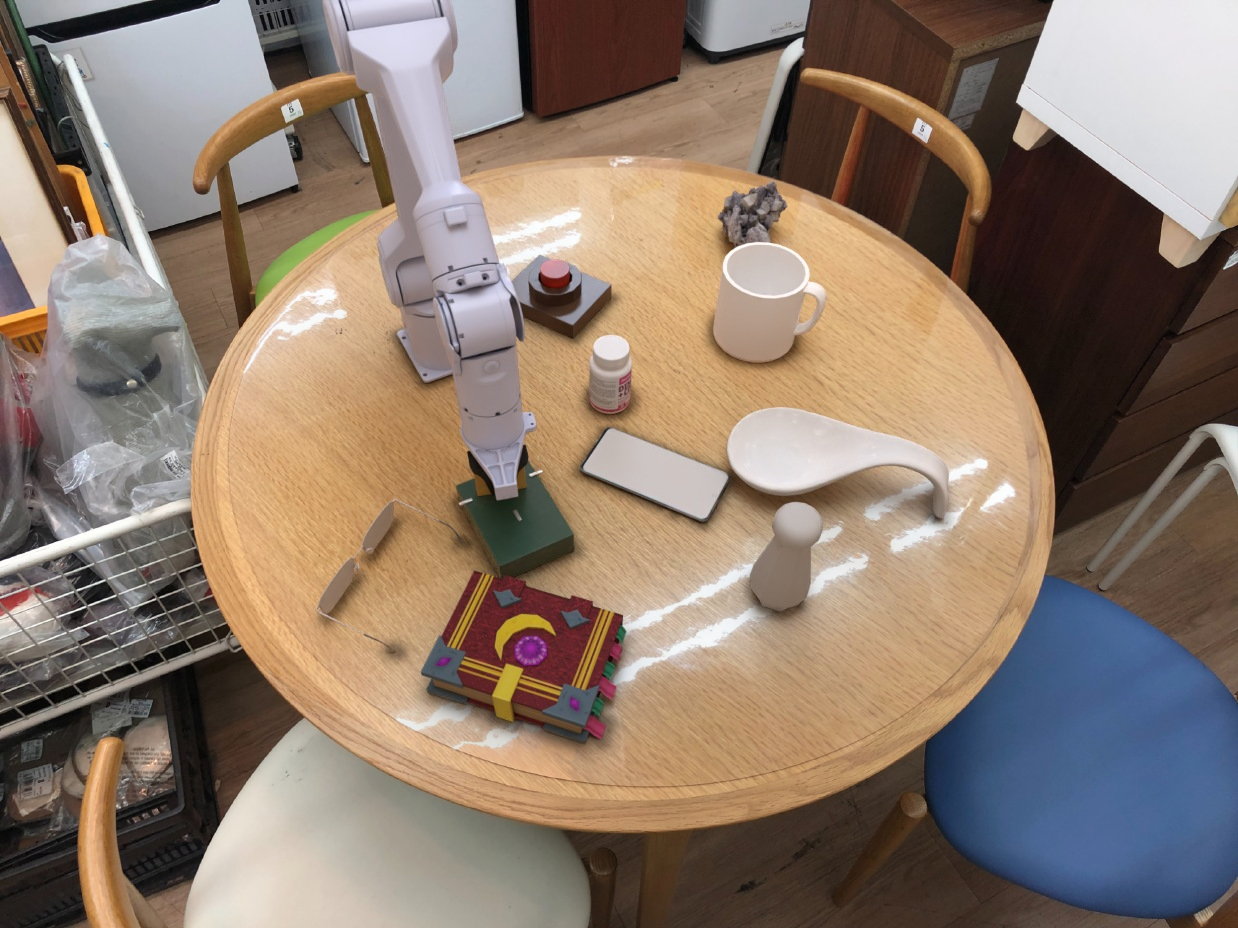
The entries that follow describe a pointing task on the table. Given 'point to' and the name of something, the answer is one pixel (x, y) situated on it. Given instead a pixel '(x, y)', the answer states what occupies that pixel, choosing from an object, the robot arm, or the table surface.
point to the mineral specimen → (751, 214)
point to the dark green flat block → (517, 525)
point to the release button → (555, 274)
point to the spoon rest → (821, 453)
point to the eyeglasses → (347, 569)
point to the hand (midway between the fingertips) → (500, 485)
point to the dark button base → (560, 298)
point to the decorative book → (528, 655)
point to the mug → (763, 301)
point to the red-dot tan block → (484, 490)
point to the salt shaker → (787, 557)
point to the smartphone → (656, 473)
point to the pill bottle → (610, 374)
